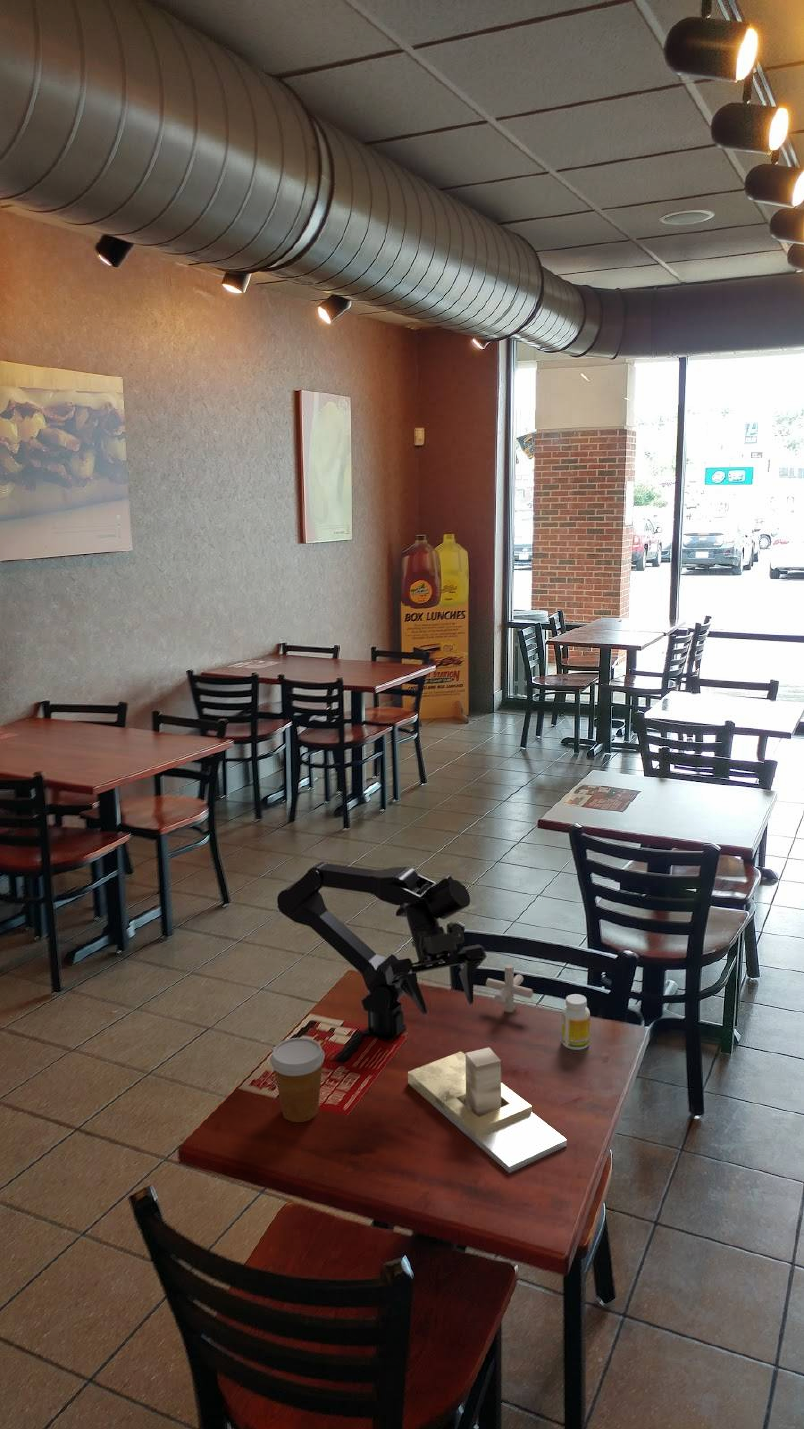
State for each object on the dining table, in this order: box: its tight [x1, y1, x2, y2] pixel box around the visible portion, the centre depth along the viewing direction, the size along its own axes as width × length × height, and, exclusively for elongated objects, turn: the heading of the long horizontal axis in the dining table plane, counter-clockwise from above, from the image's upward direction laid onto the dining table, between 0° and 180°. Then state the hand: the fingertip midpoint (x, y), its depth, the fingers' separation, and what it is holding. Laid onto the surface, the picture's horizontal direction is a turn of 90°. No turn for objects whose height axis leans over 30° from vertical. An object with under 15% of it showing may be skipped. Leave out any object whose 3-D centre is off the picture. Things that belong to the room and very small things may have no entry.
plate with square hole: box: [407, 1051, 568, 1174], centre depth 173 cm, size 30×12×2 cm, turn 32°
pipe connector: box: [485, 963, 534, 1013], centre depth 207 cm, size 10×10×10 cm
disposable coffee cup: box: [269, 1037, 326, 1123], centre depth 174 cm, size 10×10×12 cm
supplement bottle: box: [561, 993, 591, 1051], centre depth 194 cm, size 5×5×10 cm
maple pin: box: [464, 1047, 502, 1117], centre depth 172 cm, size 5×5×11 cm
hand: (448, 1008), depth 182 cm, fingers open, 9 cm apart
